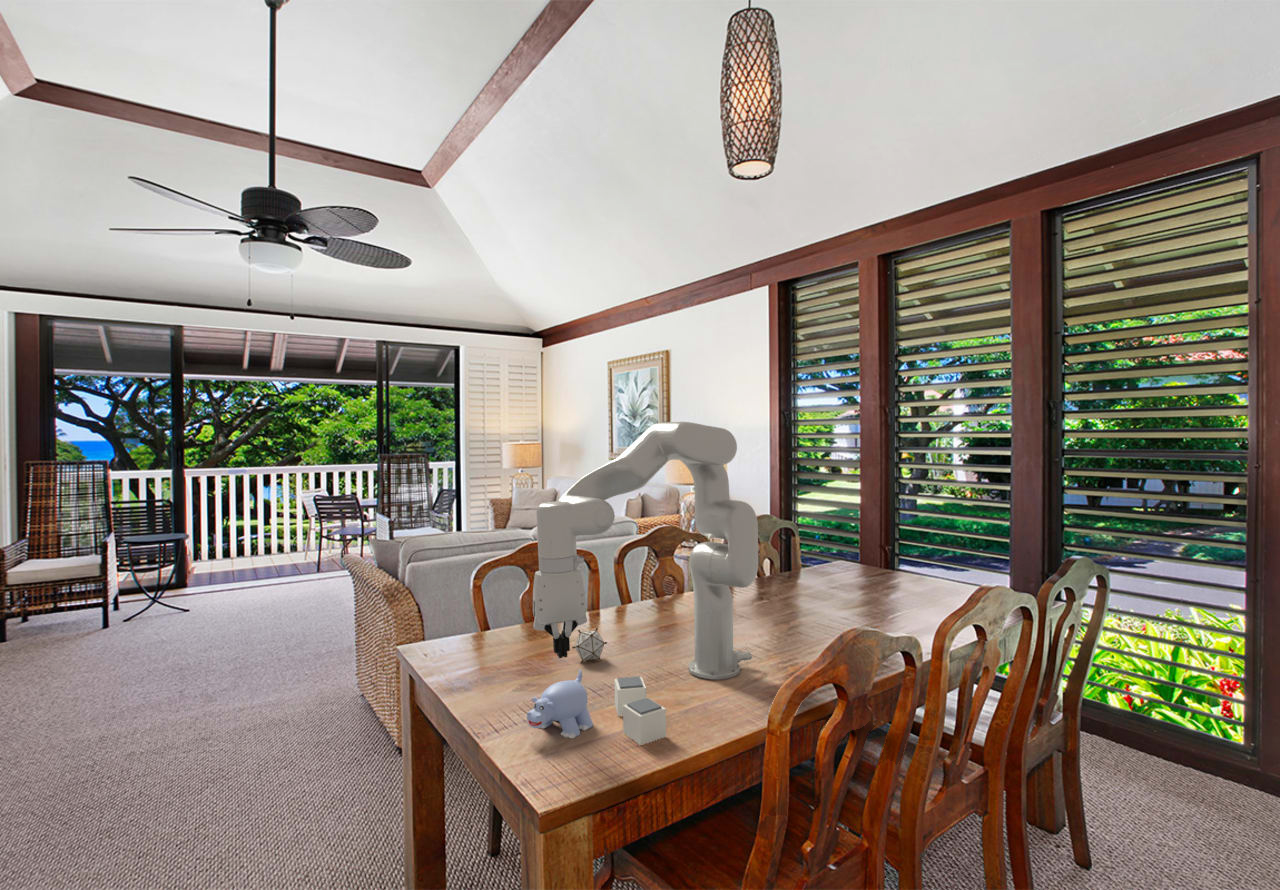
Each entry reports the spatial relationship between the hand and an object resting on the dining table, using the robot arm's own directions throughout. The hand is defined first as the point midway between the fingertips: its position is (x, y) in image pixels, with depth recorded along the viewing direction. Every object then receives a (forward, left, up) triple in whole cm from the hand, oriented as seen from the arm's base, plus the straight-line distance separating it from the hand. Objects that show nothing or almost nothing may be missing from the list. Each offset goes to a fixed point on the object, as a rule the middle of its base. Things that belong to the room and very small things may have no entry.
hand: (561, 655), depth 124 cm
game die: (-14, -35, -15) cm, 40 cm away
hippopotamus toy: (+1, -1, -15) cm, 15 cm away
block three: (-15, -4, -15) cm, 22 cm away
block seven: (-14, +8, -15) cm, 22 cm away
